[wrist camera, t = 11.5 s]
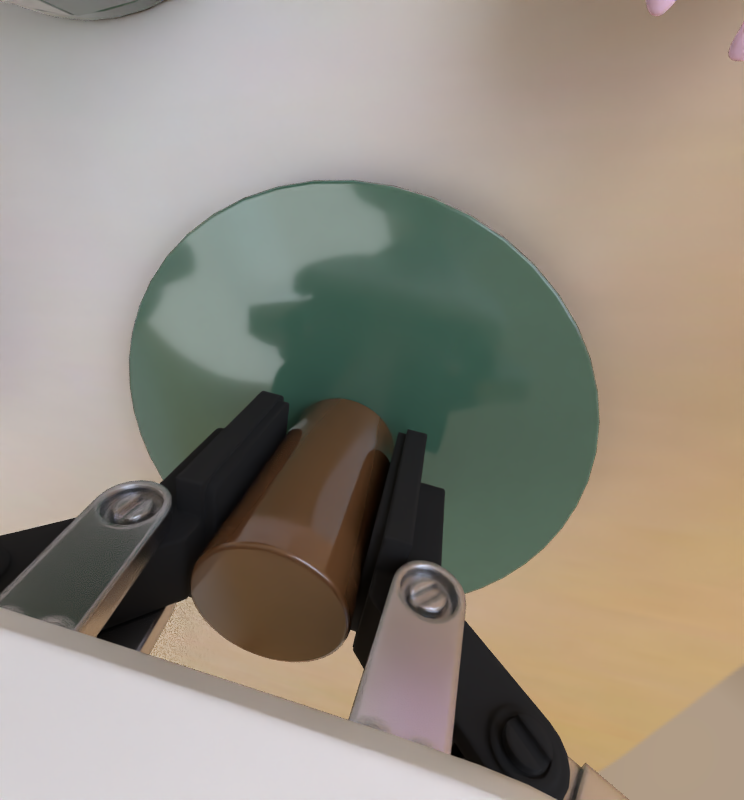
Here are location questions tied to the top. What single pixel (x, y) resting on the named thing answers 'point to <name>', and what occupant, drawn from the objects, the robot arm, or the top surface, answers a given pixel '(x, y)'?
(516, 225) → the top surface
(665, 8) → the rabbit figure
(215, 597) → the pot lid
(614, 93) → the top surface
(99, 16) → the pot
